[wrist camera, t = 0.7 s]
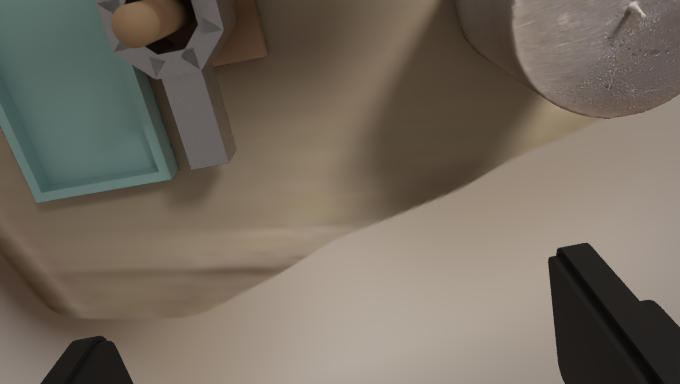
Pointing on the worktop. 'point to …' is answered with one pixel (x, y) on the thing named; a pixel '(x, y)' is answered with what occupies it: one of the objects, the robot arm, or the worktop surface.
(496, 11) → the pillar candle
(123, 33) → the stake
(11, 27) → the tray
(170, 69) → the wrench
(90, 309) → the worktop surface
